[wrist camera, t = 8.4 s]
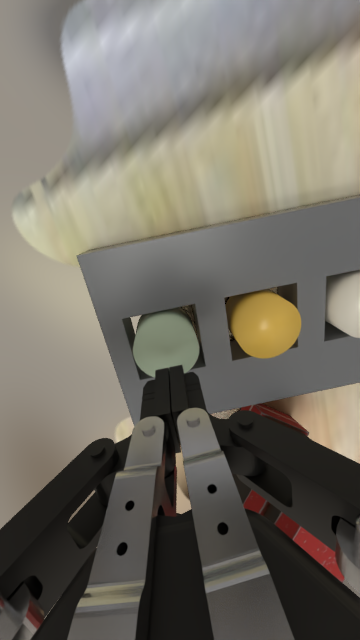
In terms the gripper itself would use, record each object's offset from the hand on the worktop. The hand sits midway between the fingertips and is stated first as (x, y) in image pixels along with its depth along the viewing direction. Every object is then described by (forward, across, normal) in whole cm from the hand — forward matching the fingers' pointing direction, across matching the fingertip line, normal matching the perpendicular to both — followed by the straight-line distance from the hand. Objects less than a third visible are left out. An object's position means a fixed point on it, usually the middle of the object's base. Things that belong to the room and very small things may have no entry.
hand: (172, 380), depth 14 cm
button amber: (+7, -7, 0) cm, 10 cm away
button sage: (+7, 0, 0) cm, 7 cm away
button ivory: (+7, -14, 0) cm, 15 cm away
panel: (+7, -7, 0) cm, 10 cm away
